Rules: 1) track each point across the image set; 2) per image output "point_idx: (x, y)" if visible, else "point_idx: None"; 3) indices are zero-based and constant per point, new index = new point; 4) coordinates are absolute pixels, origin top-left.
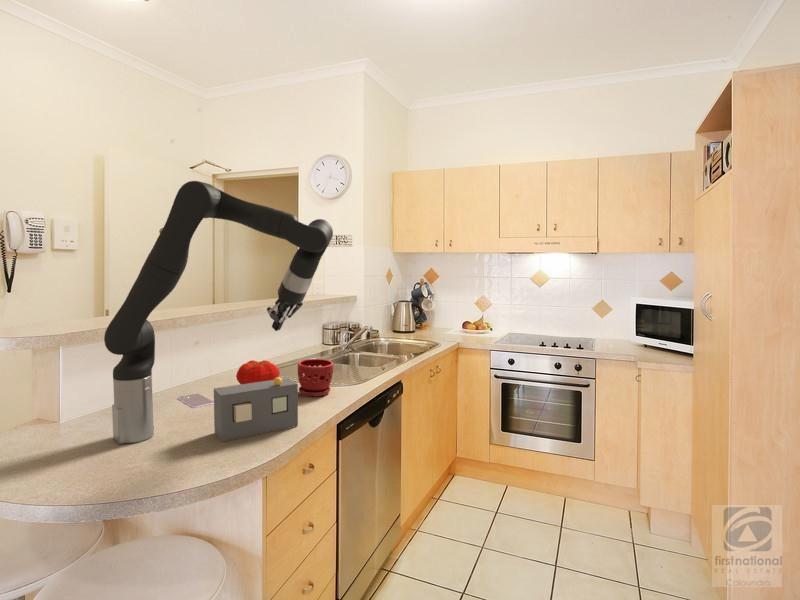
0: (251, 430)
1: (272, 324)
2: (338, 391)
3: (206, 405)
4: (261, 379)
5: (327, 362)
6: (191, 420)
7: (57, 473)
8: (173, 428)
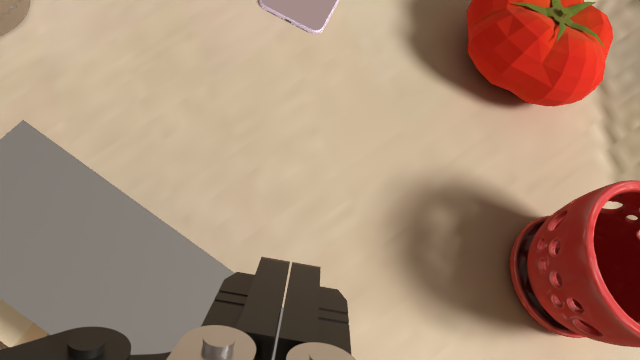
0: None
1: (220, 289)
2: (618, 350)
3: (292, 23)
4: (500, 76)
5: None
6: (157, 59)
7: None
8: (75, 53)
